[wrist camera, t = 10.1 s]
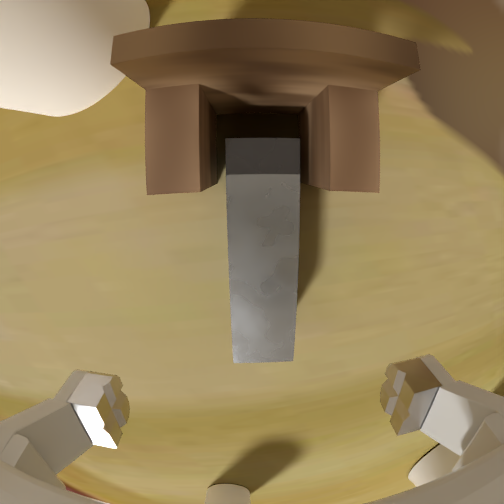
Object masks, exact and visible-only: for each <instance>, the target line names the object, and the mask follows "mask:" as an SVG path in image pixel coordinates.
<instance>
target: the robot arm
mask: <svg viewBox="0 0 504 504" xmlns="http://www.w3.org/2000/svg"><path fill="white" fill-rule="evenodd" d="M385 375H386V377H387V378H388V379H387V380H386V381H385V382H384V383H383V384H382V387H381V392H380V401H381V405H382V407H383V409H384V411H385V412H386V413H388V414H389V415H391V419H390V423H391V425H392V427H393V429H394V431H395V432H396V434H397V436H398V435H402V434H406V433H409V432H413V431H416V430H420V429H421V430H420V431H422V432H423V433H425V434H426V435H428V436H429V437H431V438H432V439H434V440H436V441H437V442H439V443H440V445H439V446H437V447H436V448H434V449H433V450H432V451H430V452H429V453H428V454H427V455H426V456H424V457H423V458H422V459H421V460H420V461H419V462H418V463H417V464H416V465H415V466H414V467H413V468H412V470H411V471H410V473H409V476H408V478H409V480H410V481H411V482H412V483H413V484H414V485H415V486H416V487H415V488H413V489H410V490H407V491H404V492H401V493H398V494H395V495H392V496H389V497H386V498H382V499H379V500H376V501H372V502H368V503H364V504H504V397H503V396H500V395H497V394H495V393H492V392H489V391H486V390H484V389H481V388H478V387H475V386H473V385H470V384H467V383H465V382H462V381H455V380H454V379H453V378H452V377H451V376H450V374H449V373H448V372H447V371H446V370H445V369H444V368H443V366H442V365H441V364H440V363H439V362H438V361H437V360H436V359H435V358H434V356H432V355H430V354H428V355H424V356H421V357H417V358H414V359H409V360H405V361H400V362H395V363H390V364H389V365H388V367H387V369H386V372H385ZM122 386H123V385H122V382H121V379H120V377H118V376H117V375H112V374H105V373H98V372H92V371H84V370H78V369H77V370H74V371H73V372H72V374H71V375H70V376H69V378H68V379H67V381H66V382H65V383H64V385H63V386H62V387H61V389H60V390H59V392H58V393H57V394H56V396H55V397H54V399H50V398H49V399H47V400H45V401H43V402H41V403H39V404H37V405H35V406H33V407H31V408H28V409H26V410H24V411H22V412H20V413H18V414H16V415H14V416H11V417H9V418H7V419H5V420H3V421H1V422H0V504H110V503H106V502H102V501H99V500H95V499H92V498H89V497H85V496H82V495H79V494H76V493H73V492H70V491H68V490H65V489H66V487H65V485H64V483H63V482H62V481H61V480H60V479H59V478H58V477H57V475H56V474H57V473H59V472H60V471H61V470H63V469H64V468H65V467H66V466H68V465H69V464H70V463H72V462H73V461H74V460H75V459H77V458H78V457H79V456H80V455H82V454H83V453H84V452H86V451H87V450H88V449H89V448H90V447H92V446H93V444H95V445H101V446H106V447H112V448H117V446H118V444H119V441H120V439H121V436H122V434H123V433H122V431H121V428H120V427H122V426H123V425H125V424H126V423H127V421H128V418H129V411H130V407H129V401H128V398H127V396H126V395H125V394H124V393H123V392H122V391H121V388H122Z"/></svg>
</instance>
